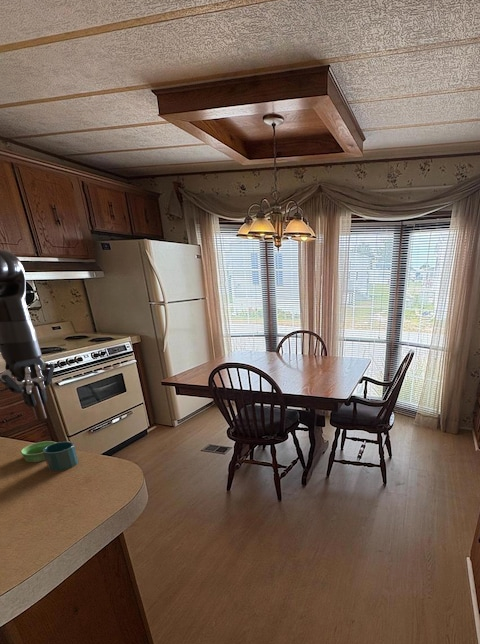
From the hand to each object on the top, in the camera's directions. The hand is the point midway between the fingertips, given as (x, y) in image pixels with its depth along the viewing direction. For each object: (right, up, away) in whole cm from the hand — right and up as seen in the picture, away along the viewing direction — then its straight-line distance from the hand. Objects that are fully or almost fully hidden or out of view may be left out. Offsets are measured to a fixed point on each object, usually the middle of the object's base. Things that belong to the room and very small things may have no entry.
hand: (37, 404), depth 90 cm
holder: (-3, -19, +13) cm, 23 cm away
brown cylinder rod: (0, -4, +2) cm, 4 cm away
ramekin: (-13, -17, +18) cm, 28 cm away
